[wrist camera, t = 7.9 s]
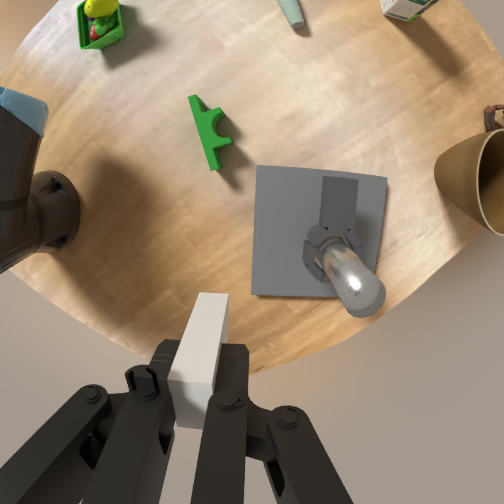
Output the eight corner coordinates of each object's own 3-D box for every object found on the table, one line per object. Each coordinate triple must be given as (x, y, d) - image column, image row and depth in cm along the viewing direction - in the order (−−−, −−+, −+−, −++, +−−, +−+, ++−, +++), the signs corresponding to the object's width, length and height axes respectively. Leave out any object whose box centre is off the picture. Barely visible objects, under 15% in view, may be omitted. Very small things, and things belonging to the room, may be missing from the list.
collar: (300, 276, 38) (302, 282, 36) (309, 174, 34) (312, 175, 32) (353, 277, 38) (357, 283, 36) (365, 179, 34) (371, 181, 32)
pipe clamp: (239, 162, 42) (237, 163, 38) (215, 169, 42) (210, 171, 38) (217, 94, 38) (213, 87, 34) (194, 102, 39) (187, 96, 34)
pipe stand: (251, 289, 48) (251, 294, 46) (256, 165, 42) (256, 165, 40) (365, 291, 48) (369, 296, 46) (382, 176, 42) (387, 177, 40)
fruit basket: (89, 15, 32) (57, -7, 21) (130, -7, 31) (105, -35, 20) (94, 58, 35) (59, 41, 25) (139, 36, 34) (111, 10, 24)
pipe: (304, 250, 44) (338, 319, 25) (307, 221, 42) (346, 274, 23) (332, 251, 44) (381, 318, 25) (335, 223, 42) (392, 275, 23)
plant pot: (484, 183, 41) (542, 198, 26) (439, 228, 44) (495, 257, 29) (452, 115, 37) (513, 111, 22) (402, 158, 41) (461, 164, 25)
